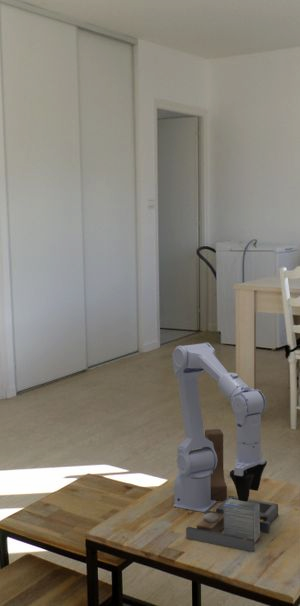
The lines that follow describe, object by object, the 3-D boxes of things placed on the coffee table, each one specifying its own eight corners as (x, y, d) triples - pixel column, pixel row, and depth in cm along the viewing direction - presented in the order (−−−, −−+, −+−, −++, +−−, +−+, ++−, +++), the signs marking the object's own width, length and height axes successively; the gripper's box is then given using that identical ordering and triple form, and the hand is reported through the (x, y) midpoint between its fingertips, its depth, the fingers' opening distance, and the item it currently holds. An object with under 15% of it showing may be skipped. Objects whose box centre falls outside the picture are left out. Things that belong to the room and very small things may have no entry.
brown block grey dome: (196, 536, 183) (196, 521, 182) (210, 522, 190) (210, 508, 190) (211, 539, 181) (211, 524, 180) (225, 525, 189) (225, 511, 188)
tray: (216, 519, 193) (216, 508, 192) (229, 506, 201) (229, 495, 201) (266, 528, 187) (266, 517, 186) (278, 515, 195) (278, 504, 194)
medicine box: (260, 536, 182) (260, 502, 181) (254, 544, 178) (254, 509, 177) (229, 531, 186) (229, 497, 185) (223, 538, 182) (223, 504, 180)
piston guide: (186, 538, 182) (185, 527, 182) (206, 519, 193) (206, 509, 193) (252, 552, 174) (252, 541, 174) (269, 531, 185) (269, 520, 185)
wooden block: (227, 501, 205) (226, 438, 203) (211, 502, 205) (210, 438, 202) (220, 489, 214) (220, 428, 212) (205, 490, 214) (204, 429, 211)
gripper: (254, 451, 172) (254, 508, 173) (274, 434, 184) (273, 487, 186) (225, 447, 175) (225, 503, 176) (246, 431, 188) (246, 483, 189)
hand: (248, 495), depth 182 cm, fingers open, 7 cm apart
